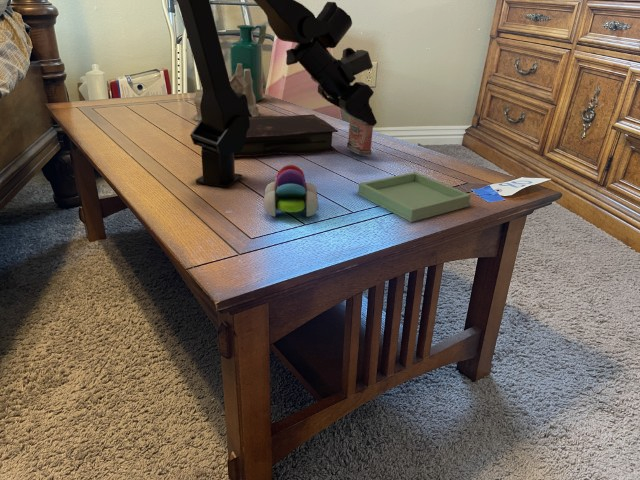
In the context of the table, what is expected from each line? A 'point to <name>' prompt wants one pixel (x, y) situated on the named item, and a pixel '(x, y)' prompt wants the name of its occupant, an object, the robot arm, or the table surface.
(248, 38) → the pitcher
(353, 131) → the lighter
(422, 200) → the dish
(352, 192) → the table surface
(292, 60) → the robot arm
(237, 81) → the ceramic cottage
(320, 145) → the diary
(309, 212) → the rainbow wheeled toy
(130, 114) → the table surface
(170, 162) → the table surface
